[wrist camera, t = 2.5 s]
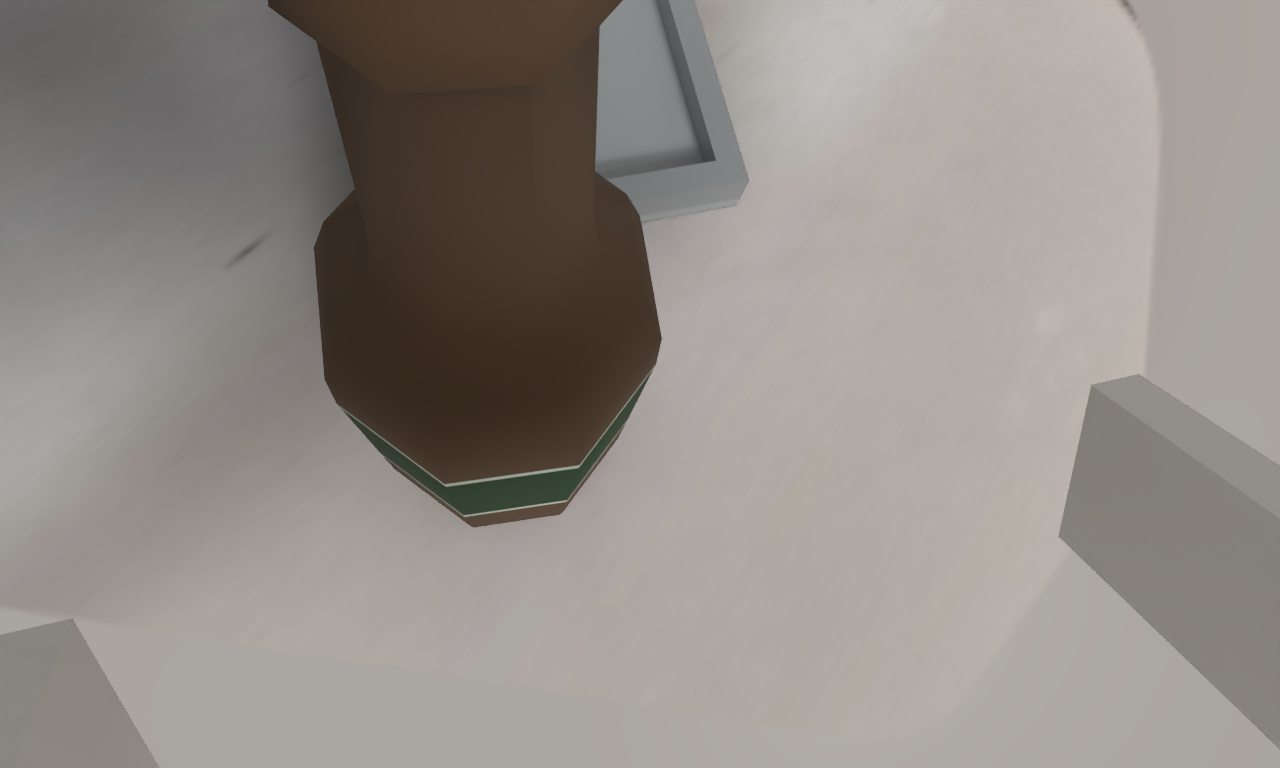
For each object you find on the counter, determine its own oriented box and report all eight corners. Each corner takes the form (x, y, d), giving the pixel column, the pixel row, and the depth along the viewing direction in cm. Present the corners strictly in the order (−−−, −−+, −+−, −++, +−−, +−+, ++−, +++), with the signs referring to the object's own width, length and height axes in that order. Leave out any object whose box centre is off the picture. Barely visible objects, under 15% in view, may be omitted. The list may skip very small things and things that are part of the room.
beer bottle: (360, 503, 29) (-233, 96, 6) (428, 293, 32) (165, -573, 9) (585, 559, 30) (782, 363, 7) (636, 348, 32) (917, -335, 9)
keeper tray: (398, 266, 32) (389, 243, 30) (337, -36, 35) (326, -74, 33) (736, 204, 34) (749, 180, 32) (653, -73, 37) (660, -111, 35)
